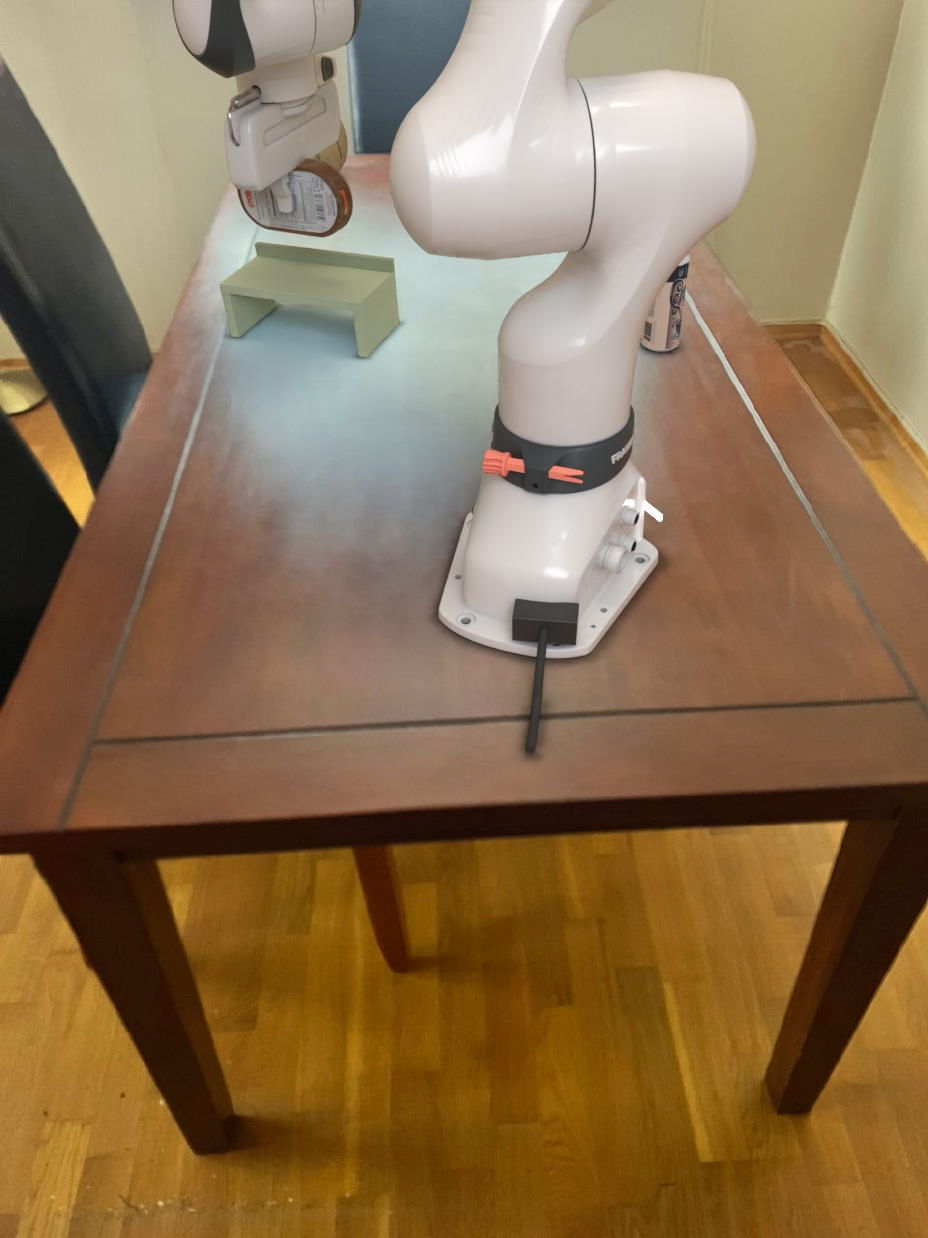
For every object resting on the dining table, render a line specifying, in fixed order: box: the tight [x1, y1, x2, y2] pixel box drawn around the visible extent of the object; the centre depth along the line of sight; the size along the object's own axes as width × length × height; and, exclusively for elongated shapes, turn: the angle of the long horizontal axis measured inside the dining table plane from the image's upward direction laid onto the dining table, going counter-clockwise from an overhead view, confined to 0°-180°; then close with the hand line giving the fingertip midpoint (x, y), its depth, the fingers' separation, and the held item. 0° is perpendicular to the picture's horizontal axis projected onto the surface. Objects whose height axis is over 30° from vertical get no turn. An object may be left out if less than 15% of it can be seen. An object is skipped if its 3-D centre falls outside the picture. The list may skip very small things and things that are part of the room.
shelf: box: [219, 241, 400, 359], centre depth 120 cm, size 10×20×9 cm, turn 68°
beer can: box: [640, 252, 691, 353], centre depth 112 cm, size 5×5×12 cm
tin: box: [236, 158, 354, 238], centre depth 111 cm, size 15×3×8 cm, turn 66°
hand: (296, 204), depth 112 cm, fingers closed on tin, 2 cm apart
